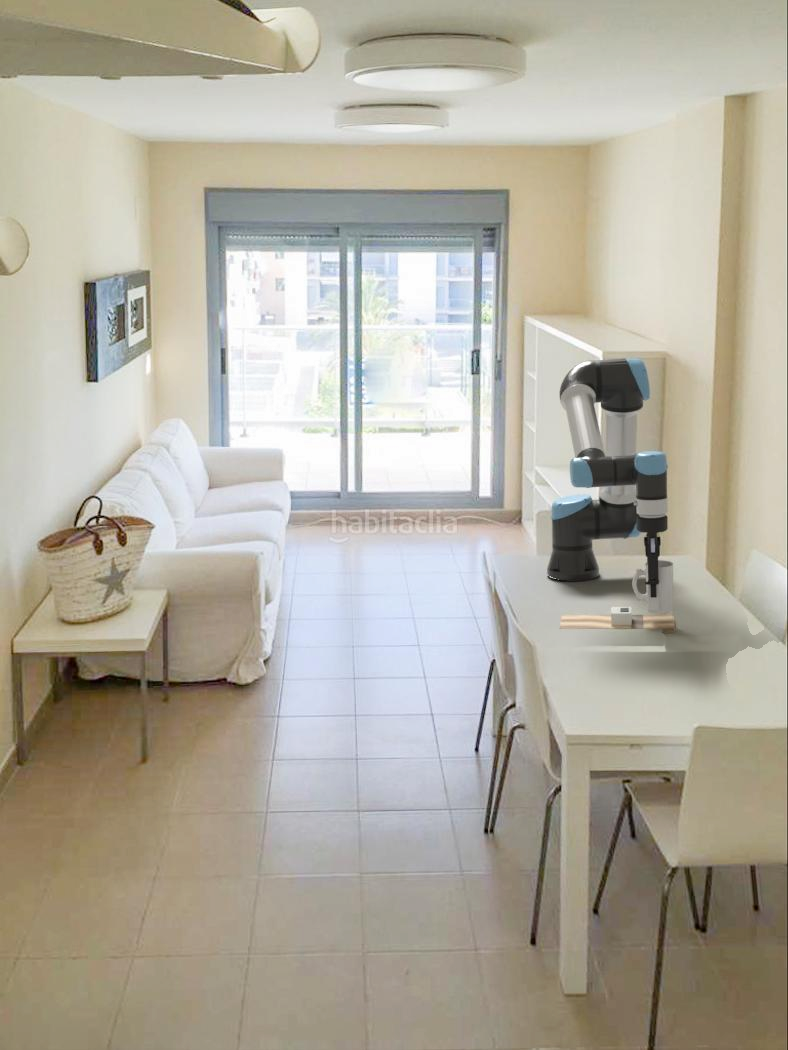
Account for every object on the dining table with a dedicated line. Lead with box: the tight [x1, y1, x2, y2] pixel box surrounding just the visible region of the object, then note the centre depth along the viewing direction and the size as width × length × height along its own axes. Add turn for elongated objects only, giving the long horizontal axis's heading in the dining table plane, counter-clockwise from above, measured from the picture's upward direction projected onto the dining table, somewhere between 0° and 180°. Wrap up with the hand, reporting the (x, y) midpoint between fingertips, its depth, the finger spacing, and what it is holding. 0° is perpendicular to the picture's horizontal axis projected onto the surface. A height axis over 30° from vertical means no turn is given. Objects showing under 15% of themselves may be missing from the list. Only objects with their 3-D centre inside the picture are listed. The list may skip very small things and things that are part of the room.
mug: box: [631, 559, 674, 615], centre depth 311 cm, size 10×7×12 cm, turn 84°
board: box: [559, 614, 676, 634], centre depth 314 cm, size 12×28×1 cm, turn 80°
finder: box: [610, 606, 633, 625], centre depth 314 cm, size 6×5×3 cm
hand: (653, 605), depth 312 cm, fingers closed on mug, 7 cm apart
